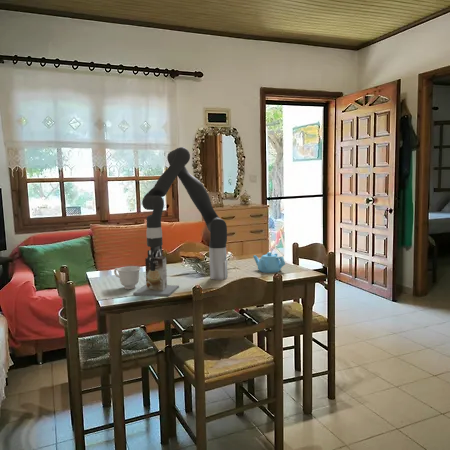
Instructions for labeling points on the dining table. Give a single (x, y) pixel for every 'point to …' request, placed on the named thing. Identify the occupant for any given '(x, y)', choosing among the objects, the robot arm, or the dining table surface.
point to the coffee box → (156, 275)
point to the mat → (166, 292)
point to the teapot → (269, 263)
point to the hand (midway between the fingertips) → (155, 268)
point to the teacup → (128, 276)
